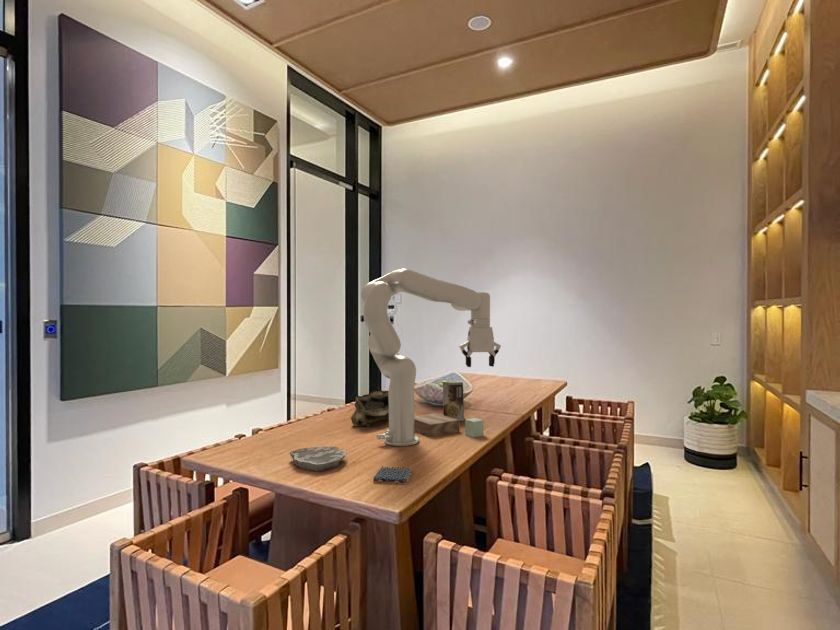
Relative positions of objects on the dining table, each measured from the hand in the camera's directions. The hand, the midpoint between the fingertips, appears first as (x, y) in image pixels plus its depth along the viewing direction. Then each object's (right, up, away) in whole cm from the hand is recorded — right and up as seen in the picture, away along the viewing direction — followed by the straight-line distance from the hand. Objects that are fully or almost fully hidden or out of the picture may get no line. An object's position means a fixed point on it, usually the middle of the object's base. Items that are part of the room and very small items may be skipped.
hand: (480, 366), depth 192 cm
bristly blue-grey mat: (-32, -27, -52) cm, 67 cm away
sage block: (-3, -26, -5) cm, 27 cm away
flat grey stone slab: (-56, -27, -37) cm, 73 cm away
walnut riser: (-18, -27, +4) cm, 32 cm away
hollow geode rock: (-42, -27, +19) cm, 53 cm away
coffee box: (-9, -26, +22) cm, 35 cm away
